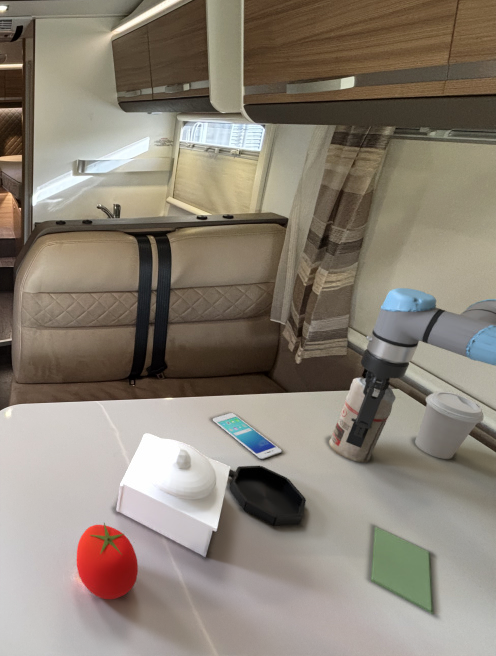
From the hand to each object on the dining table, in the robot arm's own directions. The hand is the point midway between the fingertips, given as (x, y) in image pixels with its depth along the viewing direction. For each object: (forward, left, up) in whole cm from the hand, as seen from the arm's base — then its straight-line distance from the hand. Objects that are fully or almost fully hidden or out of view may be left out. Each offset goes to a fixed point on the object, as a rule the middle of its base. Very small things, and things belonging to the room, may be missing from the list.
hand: (355, 433), depth 104 cm
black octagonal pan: (+17, +30, -5) cm, 35 cm away
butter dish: (+27, +45, -5) cm, 53 cm away
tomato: (+30, +69, -5) cm, 76 cm away
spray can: (0, 0, -5) cm, 5 cm away
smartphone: (+20, +12, -5) cm, 24 cm away
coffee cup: (-15, -14, -5) cm, 22 cm away
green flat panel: (-10, +30, -5) cm, 32 cm away
